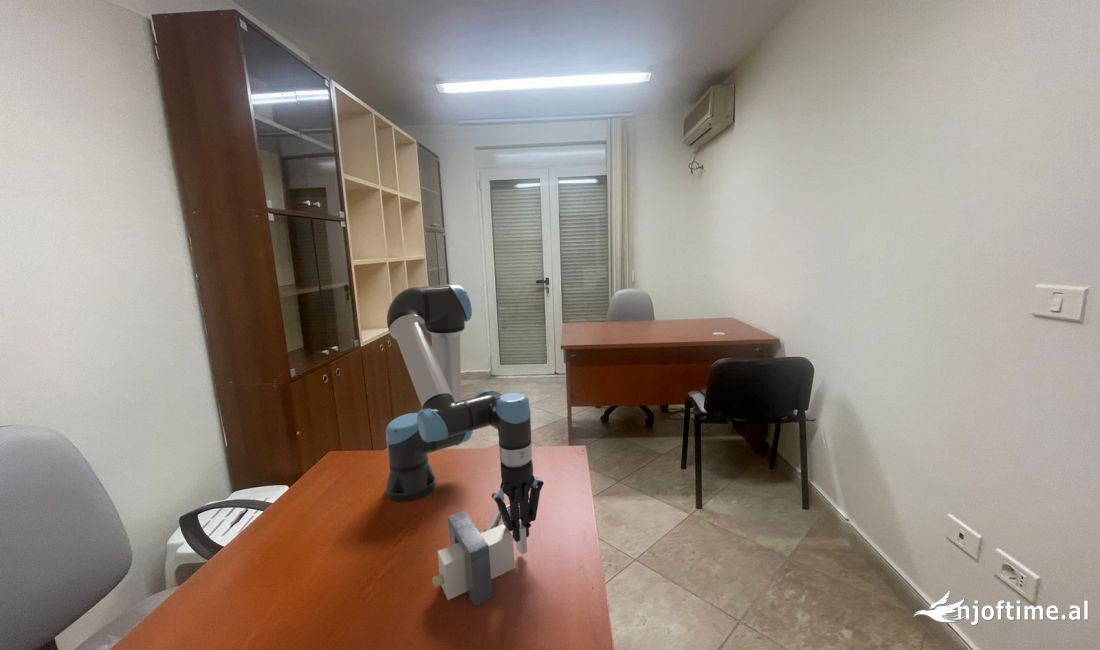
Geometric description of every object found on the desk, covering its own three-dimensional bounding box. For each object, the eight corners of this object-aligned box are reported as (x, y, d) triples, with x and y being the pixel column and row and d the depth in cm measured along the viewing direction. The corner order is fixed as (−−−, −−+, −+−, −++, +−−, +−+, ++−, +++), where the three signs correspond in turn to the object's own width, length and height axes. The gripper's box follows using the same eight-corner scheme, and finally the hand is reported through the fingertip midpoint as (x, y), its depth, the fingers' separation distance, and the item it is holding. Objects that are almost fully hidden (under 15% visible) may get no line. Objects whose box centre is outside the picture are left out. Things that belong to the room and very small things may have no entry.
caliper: (487, 559, 99) (485, 536, 98) (482, 559, 99) (481, 536, 98) (503, 508, 119) (502, 488, 118) (500, 508, 119) (498, 488, 118)
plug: (431, 589, 90) (428, 555, 89) (505, 555, 100) (503, 523, 98) (438, 604, 86) (435, 569, 85) (514, 568, 95) (512, 535, 94)
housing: (452, 564, 98) (447, 516, 95) (468, 557, 100) (464, 510, 97) (474, 606, 85) (470, 553, 83) (492, 597, 87) (488, 545, 85)
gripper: (497, 475, 88) (504, 571, 93) (548, 458, 95) (552, 548, 99) (484, 461, 95) (490, 552, 99) (532, 446, 102) (537, 531, 106)
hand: (521, 550), depth 99 cm, fingers closed
